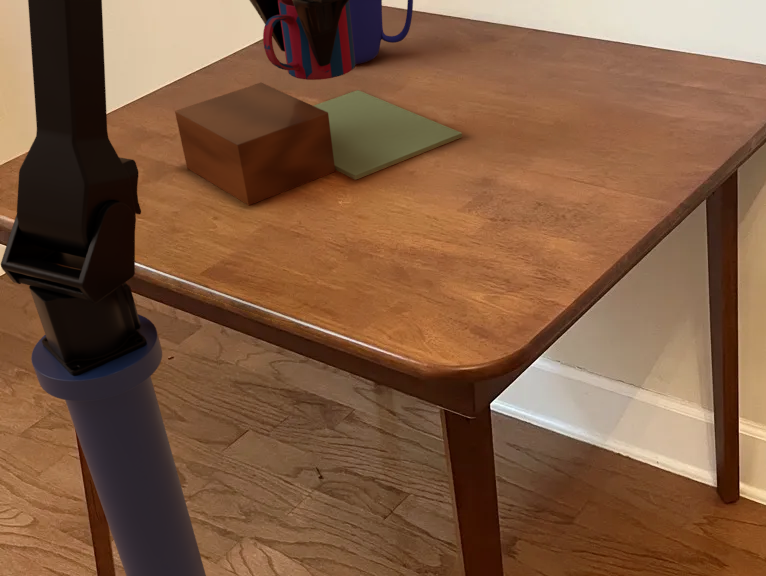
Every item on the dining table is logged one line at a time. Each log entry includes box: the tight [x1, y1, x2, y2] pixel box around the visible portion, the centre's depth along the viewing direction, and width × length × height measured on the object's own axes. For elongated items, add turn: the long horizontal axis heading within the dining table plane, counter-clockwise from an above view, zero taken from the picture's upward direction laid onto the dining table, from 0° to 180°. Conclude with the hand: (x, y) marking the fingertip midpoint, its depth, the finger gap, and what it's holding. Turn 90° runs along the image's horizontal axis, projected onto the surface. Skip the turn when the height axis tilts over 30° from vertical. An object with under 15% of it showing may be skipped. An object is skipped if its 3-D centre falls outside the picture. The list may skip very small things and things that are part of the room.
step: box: [174, 82, 336, 206], centre depth 100 cm, size 10×12×6 cm
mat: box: [313, 89, 463, 180], centre depth 107 cm, size 14×18×1 cm
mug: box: [349, 0, 414, 65], centre depth 123 cm, size 8×12×10 cm
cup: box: [262, 0, 356, 81], centre depth 98 cm, size 7×10×7 cm
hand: (305, 57), depth 99 cm, fingers closed on cup, 6 cm apart
